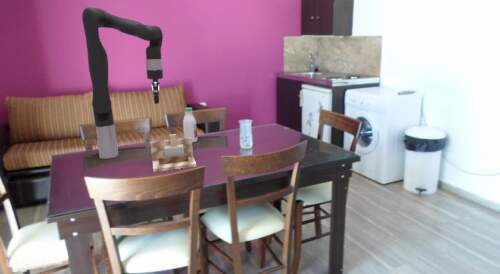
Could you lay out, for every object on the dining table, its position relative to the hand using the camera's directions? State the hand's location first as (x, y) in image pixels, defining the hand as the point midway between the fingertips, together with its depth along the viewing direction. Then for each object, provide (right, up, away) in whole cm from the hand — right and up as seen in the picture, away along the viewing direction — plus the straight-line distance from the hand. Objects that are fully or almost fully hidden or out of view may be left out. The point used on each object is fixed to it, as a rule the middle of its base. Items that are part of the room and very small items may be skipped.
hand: (156, 102), depth 190 cm
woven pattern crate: (+9, -31, -2) cm, 32 cm away
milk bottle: (+11, -20, +38) cm, 45 cm away
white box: (+9, -29, 0) cm, 30 cm away
